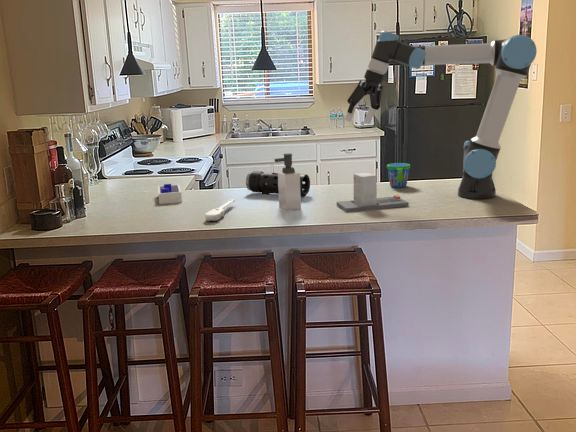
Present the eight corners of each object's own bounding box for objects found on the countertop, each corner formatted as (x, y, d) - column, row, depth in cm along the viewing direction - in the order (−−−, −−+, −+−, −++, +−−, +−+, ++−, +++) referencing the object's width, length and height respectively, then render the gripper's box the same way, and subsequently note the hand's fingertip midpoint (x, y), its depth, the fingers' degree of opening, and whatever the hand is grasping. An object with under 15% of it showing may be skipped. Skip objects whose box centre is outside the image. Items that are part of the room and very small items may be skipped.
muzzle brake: (301, 199, 246) (301, 175, 244) (245, 195, 259) (244, 172, 256) (310, 195, 255) (310, 172, 252) (255, 191, 267) (254, 169, 264)
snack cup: (387, 183, 273) (387, 161, 271) (409, 183, 271) (409, 161, 269) (386, 189, 258) (386, 167, 256) (410, 189, 256) (410, 167, 254)
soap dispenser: (274, 208, 231) (271, 154, 226) (293, 205, 235) (291, 152, 230) (281, 212, 226) (278, 156, 220) (300, 208, 230) (299, 154, 224)
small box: (376, 207, 227) (377, 175, 224) (362, 209, 225) (362, 176, 222) (367, 203, 234) (367, 172, 231) (353, 205, 232) (353, 173, 229)
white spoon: (227, 205, 241) (226, 199, 240) (240, 206, 239) (239, 199, 239) (202, 222, 214) (201, 214, 214) (216, 222, 213) (216, 215, 212)
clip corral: (179, 194, 266) (179, 184, 265) (182, 202, 250) (181, 192, 248) (158, 195, 264) (157, 186, 263) (159, 204, 247) (158, 193, 246)
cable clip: (172, 202, 251) (171, 188, 250) (162, 202, 251) (161, 189, 249) (175, 196, 263) (174, 183, 261) (165, 196, 262) (164, 184, 261)
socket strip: (396, 199, 239) (396, 194, 238) (408, 206, 227) (408, 200, 227) (336, 205, 233) (336, 199, 232) (346, 212, 222) (346, 206, 221)
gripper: (385, 72, 239) (367, 121, 246) (350, 63, 220) (332, 116, 227) (399, 78, 234) (381, 127, 241) (365, 69, 216) (346, 123, 223)
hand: (357, 122), depth 234 cm, fingers open, 13 cm apart
